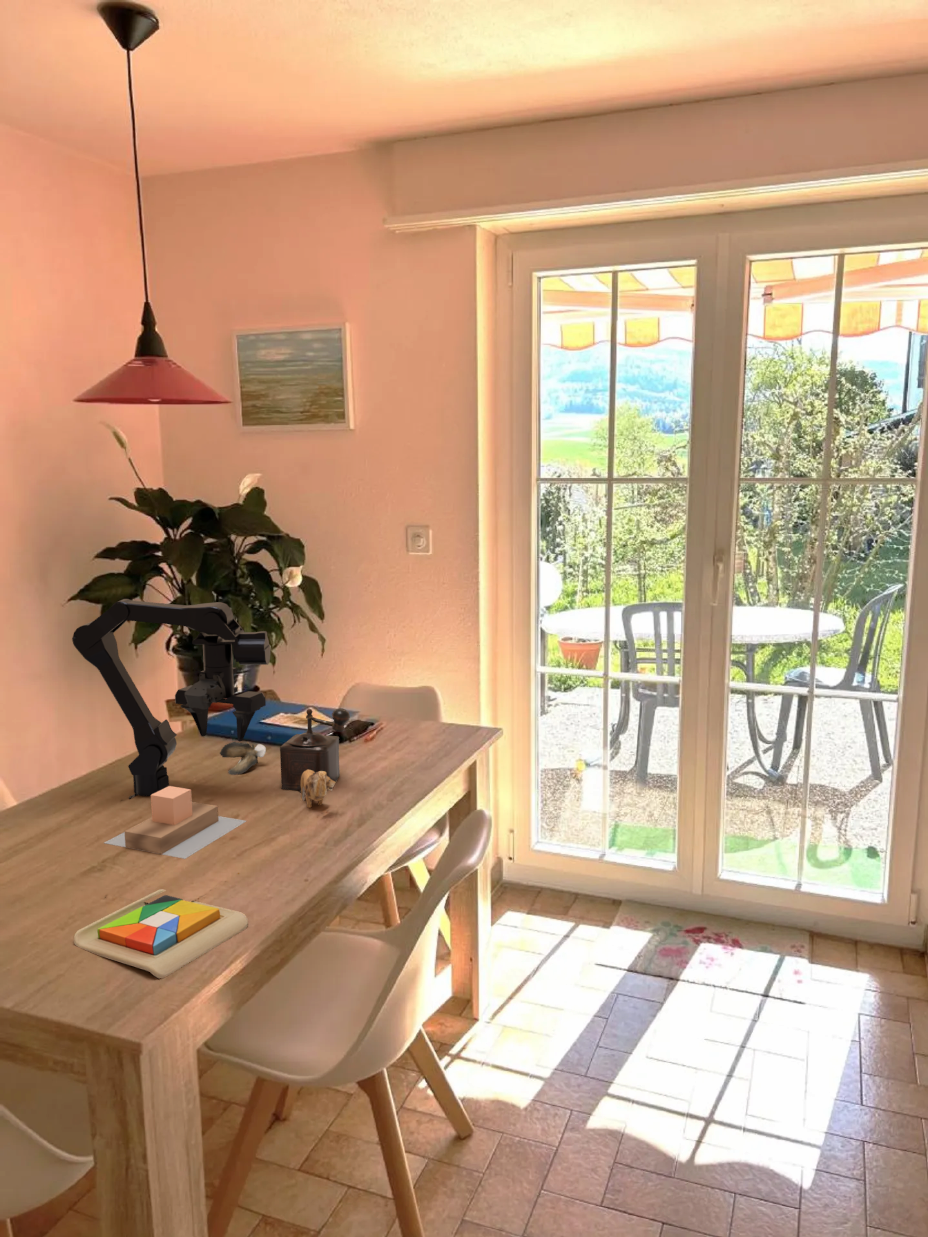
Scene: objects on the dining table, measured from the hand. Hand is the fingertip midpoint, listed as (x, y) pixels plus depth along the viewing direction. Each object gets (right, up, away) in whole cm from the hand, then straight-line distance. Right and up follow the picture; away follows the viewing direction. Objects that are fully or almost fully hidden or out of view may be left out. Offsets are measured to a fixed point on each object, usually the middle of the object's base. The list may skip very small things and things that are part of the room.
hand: (221, 738), depth 185 cm
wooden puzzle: (+6, -22, -53) cm, 58 cm away
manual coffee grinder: (+19, -11, +9) cm, 24 cm away
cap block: (-4, -12, -21) cm, 24 cm away
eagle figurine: (0, -10, +20) cm, 22 cm away
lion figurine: (+20, -14, -4) cm, 24 cm away
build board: (-3, -16, -19) cm, 25 cm away
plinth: (-3, -15, -20) cm, 25 cm away
